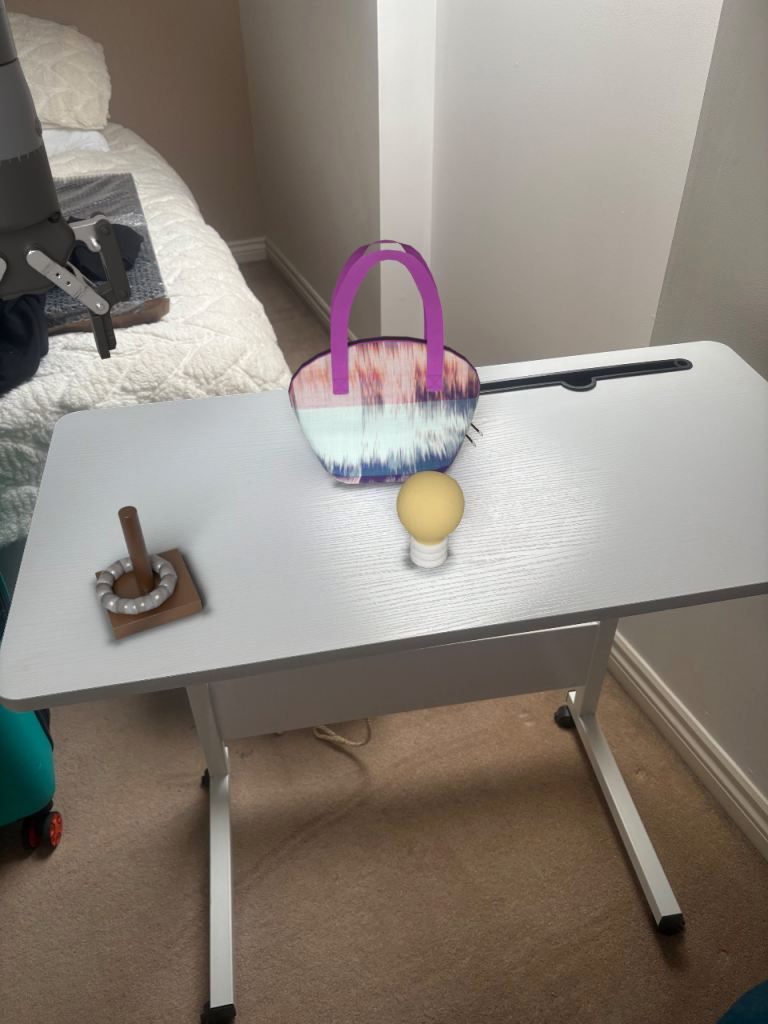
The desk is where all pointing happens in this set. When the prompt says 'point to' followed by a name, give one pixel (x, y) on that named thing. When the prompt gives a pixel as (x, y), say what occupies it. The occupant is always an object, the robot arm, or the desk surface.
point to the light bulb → (430, 515)
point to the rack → (149, 583)
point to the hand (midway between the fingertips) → (47, 366)
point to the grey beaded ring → (140, 603)
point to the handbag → (385, 388)
